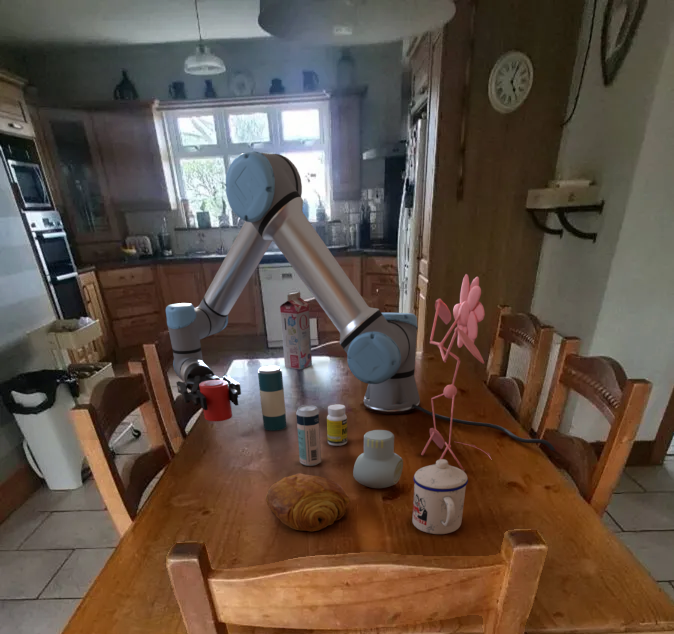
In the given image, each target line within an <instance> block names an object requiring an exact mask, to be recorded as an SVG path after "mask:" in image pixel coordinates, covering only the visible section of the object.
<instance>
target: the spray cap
mask: <svg viewBox="0 0 674 634" xmlns="http://www.w3.org/2000/svg"><path fill="white" fill-rule="evenodd" d="M199 387H200V392H201V393H202V394H203V395H204V396H205V398H206V402H207V408H208V410H204V409H203V408H202V410H203V411H202V412H203V417H204V419H205V420H206V421H208V422H223V421H227V420H229V419H231V418H233V412H232V411H233V410H232V402H231V401H230V396H229V389H228V382H227V381H224V380H208V381H204V382H202V383H200V384H199Z"/></svg>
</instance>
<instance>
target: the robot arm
mask: <svg viewBox="0 0 674 634" xmlns="http://www.w3.org/2000/svg"><path fill="white" fill-rule="evenodd" d="M302 194H303V185H302V179H301V175H300V173H299V170H298V168H297V167H296V165H295V164H294V163H293V161H291V160H290V159H289V158H288V157H286V156H284V155H282V154H279V153H266V152H260V151H255V150H252V151H248V152H244V153H241V154H239V155H238V156H236V157H235V158H234V159H233V161H232V162H231V163H230V165H229V167H228V170H227V172H226V176H225V195H226V199H227V202H228V205H229V207H230V208H231V211H232V212H233V213H234V214H235V215H236V216H237V217H238V218H239V219H241V220H243V221H244V223H243V225H242V226H241V228H240V230H239V231H238V234H237V235H236V237H235V239H234V241H233V242H232V245H231V246H230V248H229V249H228V252H227V253H226V255H225V257H224V259H223V261H222V262H221V265H220V267H219V268H218V270H217V271H216V274H215V275H214V277H213V279H212V280H211V283H210V285H209V286H208V288H207V290H206V292H205V294H204V296H203V298H202V299H201V301H200V303H199V305H197V306H194V304H192V303H189V302H181V303H180V302H179V303H178V302H177V303H172V304H168V305H167V306H166V307H165V316H166V317H165V318H166V326H167V329H168V334H169V339H170V344H171V348H172V355H173V362H172V363H173V364H172V366H173V369H174V373H175V374H176V376H177V377H178V379H180V380H181V381H180V380H178V381H176V388H177V392H178V393H179V394H180V395H181V397H182V400H183V402H184V403H185V404H187V403H190V402H191V401H192V405H193V406H200V407H201V408H202V410H203V409H204V410H208V408H207V402H206V398H205V396H204V395H203V394H202V393H201V392H200V387H199V384H200V383H202V382H204V381H208V380H224V381H227V382H228V389H229V396H230V403H231V404H233V405H234V406H239V400H238V398H239V396H240V395H242V390H241V383H240V382H238V381H236V380H235V379H234V378H231V376H230V375H229V374H225V375H224V376H222V378H220V377H219V376H217V375H215V372H214V371H213V370H212V369H211V368H210V367H209V366H208V365H207V364H206V363H205V362H204V358H203V353H202V344H201V340H202V339H204V338H207V337H209V336H210V337H211V336H212V335H216V334H219V333H220V332H222V331H223V330H225V328H227V326H228V324H229V314H230V312H231V310H232V309H233V307H234V306H235V304H236V302H237V300H239V297H240V296H241V294H242V292H243V291H244V289H245V287H246V285H247V284H248V282H249V280H250V279H251V277H252V276H253V274H254V272H255V271H256V269H257V267H258V266H259V264H260V262H261V261H262V259H263V257H264V256H265V254H266V252H267V251H268V249H269V247H270V246H271V244H272V243H274V244H275V245H276V247H277V248H278V249H279V251H280V252H281V253H282V255H283V256H284V258H285V259H286V260H287V261H288V263H289V264H290V266H291V268H292V269H293V270H294V271H295V273H296V274H297V275H298V277H299V278H300V280H301V281H302V283H303V284H304V285H305V286H306V288H307V289H308V291H309V293H311V295H312V296H313V298H314V299H315V300H316V302H317V303H318V305H319V306H320V307H321V309H322V310H323V311H324V313H325V315H326V316H327V317H328V318H329V320H330V321H331V323H332V324H333V326H334V327H335V328H336V329H337V331H338V332H339V345H340V346H341V347H342V349H343V351H344V352H345V353H346V355H347V356H346V357H347V358H346V359H347V361H346V362H347V365H348V368H349V370H350V372H351V374H352V375H353V376H354V377H355V378H356V379H357V380H358V381H360V382H362V383H363V384H367V387H366V391H365V394H364V397H363V408H364V409H365V410H367V411H369V412H371V413H375V414H379V415H380V414H381V415H402V414H408V413H411V412H415V411H420V412H422V413H425V414H426V415H428V416H430V417H433V411H430V410H428V409H426V408H423V407H421V406H420V405H421V404H420V403H421V400H420V394H419V389H418V386H417V382H416V377H415V373H416V372H415V371H416V370H415V369H416V355H417V337H418V336H417V335H418V329H419V327H418V317H417V316H416V314H414V313H410V312H409V313H408V312H381V310H380V308H376V307H371V306H369V305H368V304H367V302H366V300H365V299H364V298H363V297H362V295H361V294H360V292H359V291H358V289H357V288H356V287H355V285H354V284H353V282H352V281H351V279H350V278H349V276H348V275H347V273H346V272H345V271H344V269H343V268H342V266H341V265H340V264H339V262H338V261H337V259H336V258H335V256H334V254H332V252H331V250H330V249H329V247H328V246H327V245H326V243H325V242H324V241H323V239H322V238H321V236H320V235H319V233H318V232H317V230H316V229H315V228H314V227H313V224H312V223H311V222H310V221H309V219H308V218H307V216H306V215H305V214H304V211H303V210H304V209H303V207H304V199H303V197H302ZM188 390H189V391H190V392H189V391H188ZM434 415H435V419H439V420H442V421H447V422H450V421H451V417H448V416H445V415H441V414H438V413H435V412H434ZM452 423H457V424H461V425H467V426H475V427H485V428H490V429H495V430H499V431H501V432H503V433H505V434H506V435H508V436H509V437H510V438H511V439H514V440H515V441H517V442H519V443H524V444H542V445H544V446H546V447H548V449H549V450H550V451H554V452H555V451H556V449H555V447H554V445H553V444H552V443H551V442H549V441H548V440H546V439H541V438H523V437H520V436H518V435H516V434H514V433H512V431H510V430H509V429H507V428H506V427H503V426H501V425H497V424H494V423H488V422H478V421H469V420H463V419H460V418H459V419H458V418H454V417H453V420H452Z"/></svg>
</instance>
